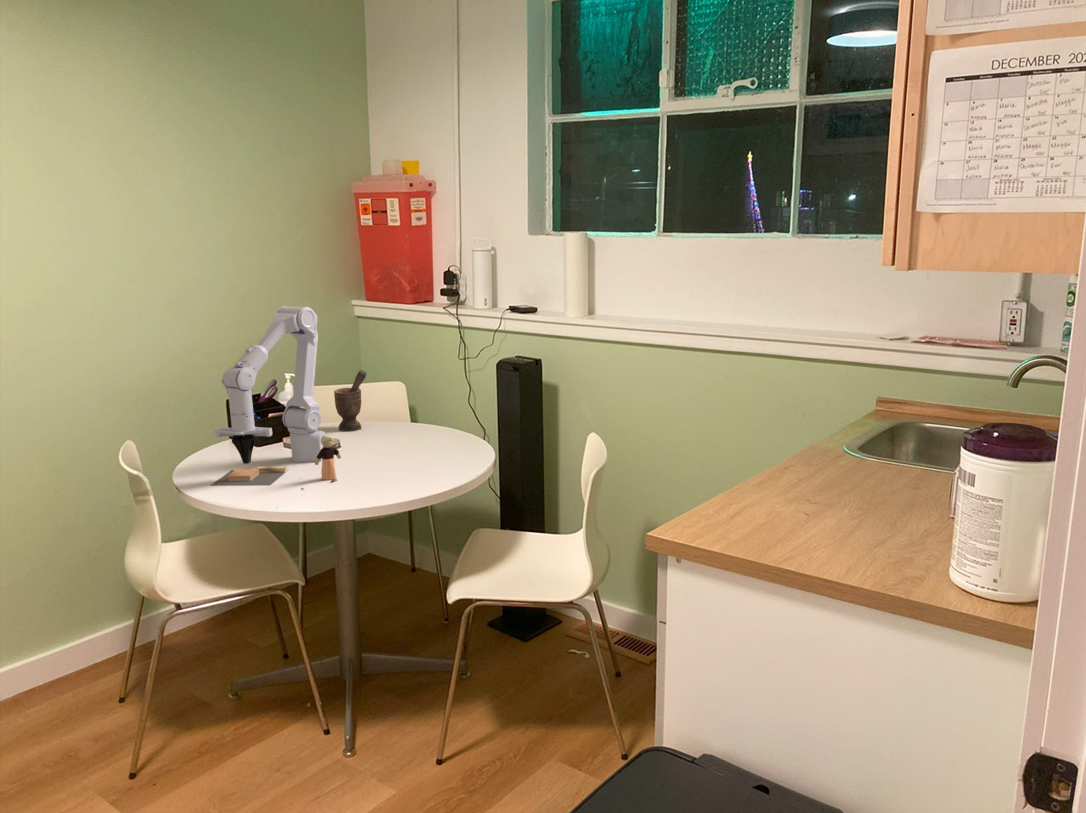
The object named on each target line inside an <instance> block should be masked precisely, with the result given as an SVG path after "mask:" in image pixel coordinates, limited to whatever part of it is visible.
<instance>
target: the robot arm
mask: <svg viewBox="0 0 1086 813" xmlns="http://www.w3.org/2000/svg"><path fill="white" fill-rule="evenodd" d="M273 314H274V315H273V316H272V318H273V319H272V322H271V323H270V325H269V327H268V328H267V329H266V331H265V332H264V334H263V335H262V337H261V338H260V339H259V341H258V343H257V344H256V345H255V344H254V345H253V344H252V345H250V346H247V347H246V348H245V350H244V353H243V354H242V355H241V357H240V358H238V360H236V361H235V362H234V365H233V366H231V367H228V368H227V369H226V370H225V371H224V373H223V376H222V378H221V383H222V385H223V386H224V388H225V389H226V394H227V395H228V402H229V404H228V406H229V413H230V422H231V427H223V428H221V427H219V428H216V429H215V438H221V437H232V439H231V443H232V444H233V446H234V447H235V448H236V450H237V452H238V454H239V456H240V458H241V461H242V464H245V465H246V464H249V463H251V462H252V454H253V450H254V445H255V443H256V441H257V438H258V437H267V438H268V437H272V435H273V428H272V427H260V426H255V414H254V406H253V404H254V403H253V394H252V388H253V387H254V386H255V384H256V379H257V376H258V373H259V371H260V370H261V369H262V368H263V366H264V365H265V364H266V362H268V360H269V354H268V353H269V352H270V351H271V350H272V349H273V348H274V347H275V345H277V343H278V342H279V341H280V340H281V339H282V338H283V336H285V334H290V335H291V336H293V338H294V339H295V340H296V342H297V343H296V354H295V366H294V367H295V368H294V377H293V378H294V381H293V391H292V392H293V393H292V397H291V398H290V399H288V401H286V403H285V409H284V411H283V414H282V422H283V423H282V424H284V427H286V428H287V432H289V438H290V447H291V448H290V449H291V461H293V462H295V463H311V462H314V463H315V462H316V458H317V455H318V454H319V452H320V450H321V449H322V448H324V446H323V444H321V441H320V440H321V437H322V436H324V435H326V433H325V431H323V430H319V428H320V425H321V422H322V416H321V412H320V404H319V403H318V402H317V401H316V399H315V398H314V390H315V378H316V364H317V353H318V340H319V334H318V328H317V327H318V315H317V314H316V312H315V311H314V310H313V309H312V308H311V307H310V306H304V307H301V306H300V307H299V306H287V305H282V306H280V307H279V308H278V309H277V311H276V312H275V313H273ZM320 462H322V458H321V459H320V461H319V463H320Z"/></svg>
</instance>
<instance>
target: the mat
mask: <svg viewBox="0 0 1086 813" xmlns="http://www.w3.org/2000/svg"><path fill="white" fill-rule="evenodd" d="M235 470H236V469H231V470H230V471H228V472H227V473H226V474H224V475H223V476H221V477H220V478H218V479H217V480H216V481H214V482H213V483H211V484H210V485H209V486H210V487H219V486H222V487H225V486H226V487H227V486H230V487H231V486H232V487H233V486H235V487H237V486H239V487H240V486H241V487H242V486H243V487H245V486H253V487H254V486H256V487H257V486H271V485H273V484H274V483H275V482H276V481H277V480H279V478H282V477H283V475H285V474H286V473H287V472H272V473H259V475H257V476H256V477H255V478H253V479H252V480H251V481H228V475H230V474H231V473H232V472H234V471H235Z"/></svg>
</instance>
